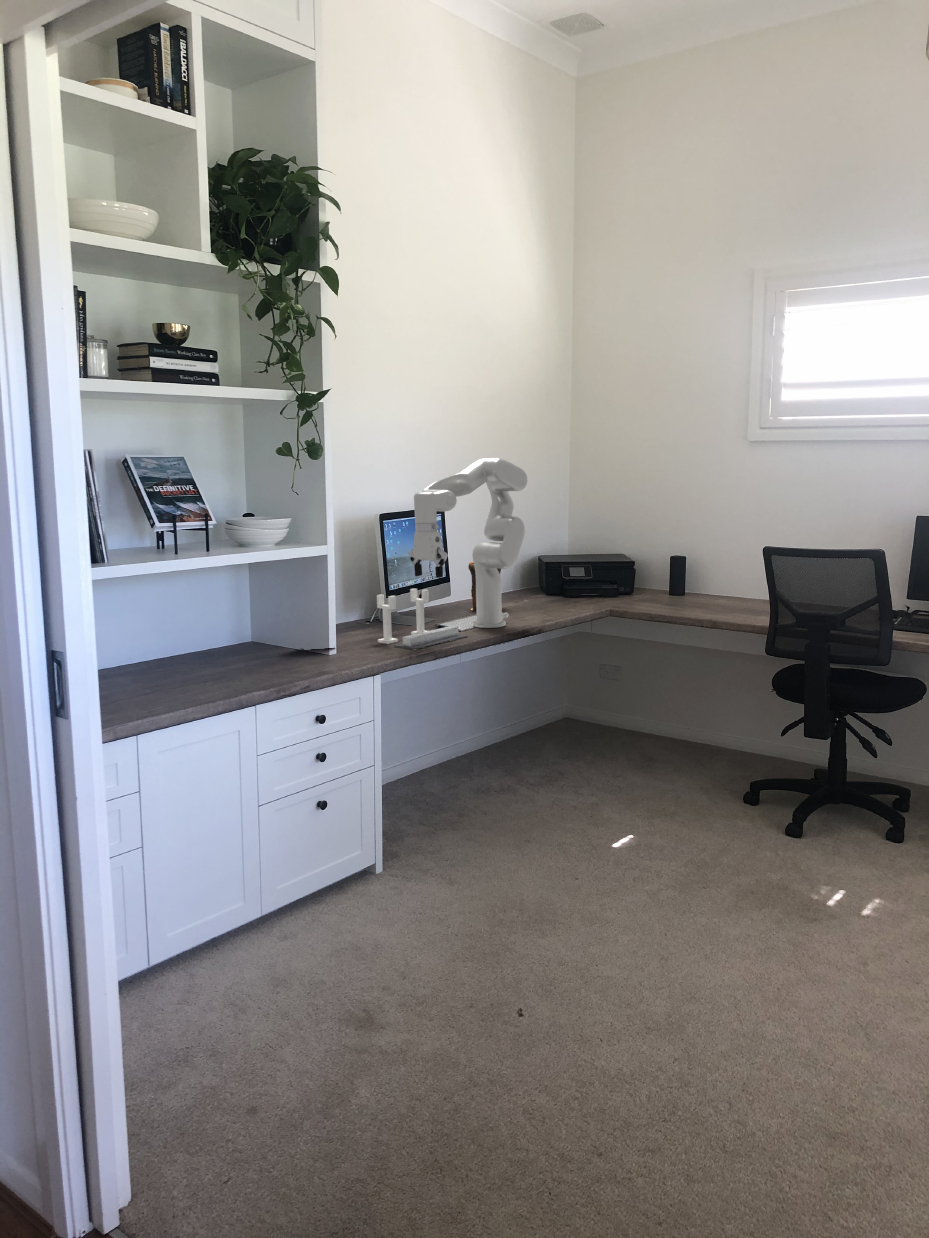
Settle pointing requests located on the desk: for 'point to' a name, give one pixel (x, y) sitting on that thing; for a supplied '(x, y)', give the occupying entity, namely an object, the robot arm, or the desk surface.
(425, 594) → the hook standards
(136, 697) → the desk surface
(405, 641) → the rail
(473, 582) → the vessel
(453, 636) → the mat
